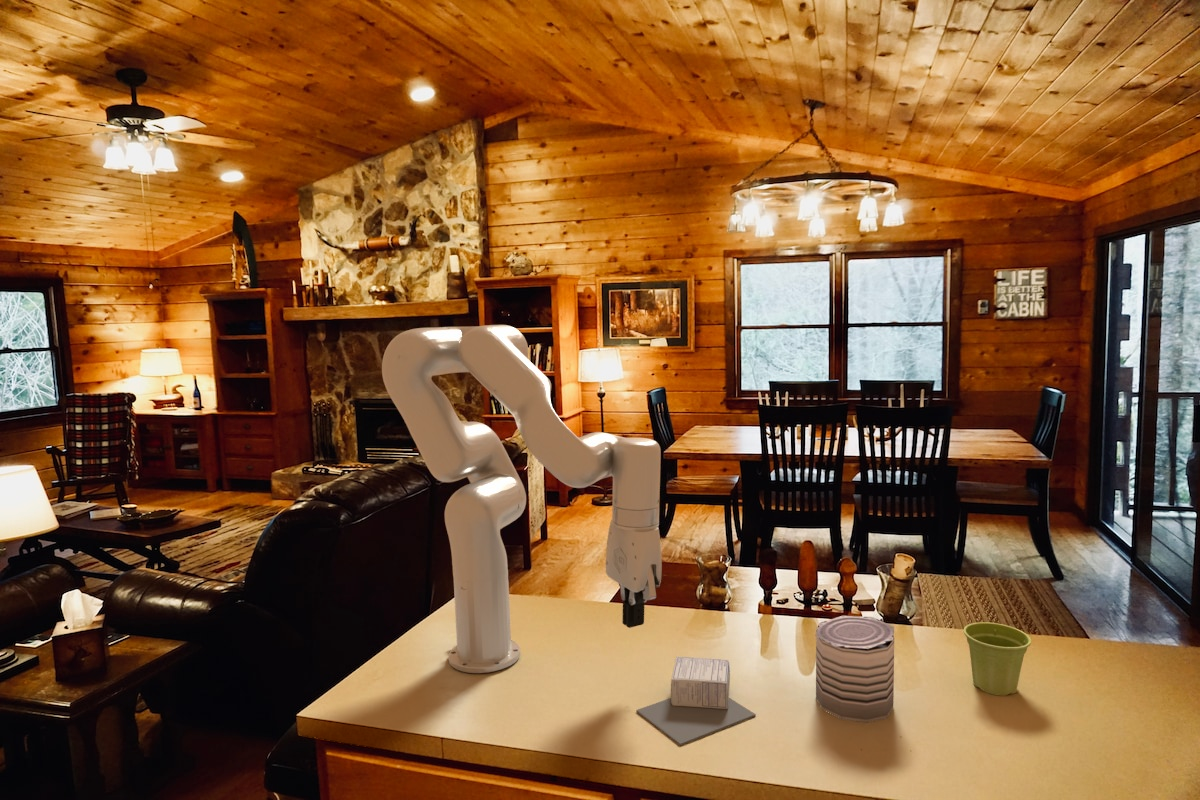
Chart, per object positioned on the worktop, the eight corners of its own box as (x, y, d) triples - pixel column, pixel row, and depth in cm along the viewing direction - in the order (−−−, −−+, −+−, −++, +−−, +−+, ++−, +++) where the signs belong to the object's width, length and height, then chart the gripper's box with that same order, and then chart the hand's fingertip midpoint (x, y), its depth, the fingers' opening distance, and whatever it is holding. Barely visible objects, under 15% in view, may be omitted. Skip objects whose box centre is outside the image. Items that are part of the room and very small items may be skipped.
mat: (636, 711, 115) (636, 710, 115) (708, 686, 123) (708, 684, 123) (680, 745, 106) (680, 743, 106) (755, 716, 113) (755, 714, 113)
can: (895, 728, 109) (896, 648, 108) (813, 716, 113) (813, 639, 111) (892, 690, 120) (893, 617, 118) (817, 681, 123) (817, 610, 122)
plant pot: (1026, 678, 122) (1028, 627, 121) (1032, 706, 114) (1033, 651, 113) (962, 669, 126) (963, 618, 125) (962, 695, 118) (963, 641, 117)
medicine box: (670, 706, 116) (728, 711, 114) (670, 678, 116) (728, 682, 114) (676, 681, 124) (730, 685, 122) (675, 655, 123) (729, 659, 122)
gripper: (591, 507, 126) (590, 612, 129) (642, 531, 114) (639, 647, 116) (629, 501, 130) (627, 604, 132) (682, 524, 117) (679, 637, 120)
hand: (633, 624), depth 124 cm, fingers closed
